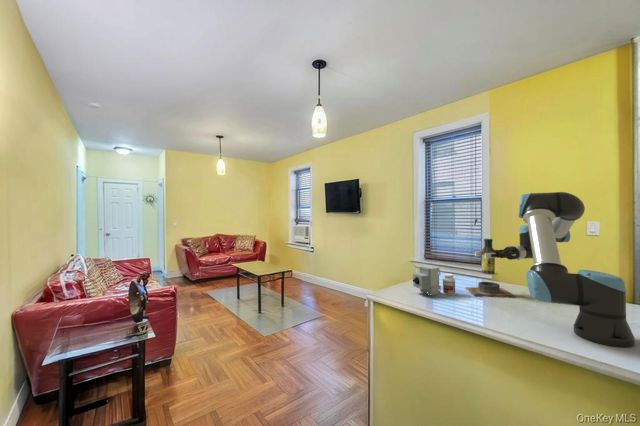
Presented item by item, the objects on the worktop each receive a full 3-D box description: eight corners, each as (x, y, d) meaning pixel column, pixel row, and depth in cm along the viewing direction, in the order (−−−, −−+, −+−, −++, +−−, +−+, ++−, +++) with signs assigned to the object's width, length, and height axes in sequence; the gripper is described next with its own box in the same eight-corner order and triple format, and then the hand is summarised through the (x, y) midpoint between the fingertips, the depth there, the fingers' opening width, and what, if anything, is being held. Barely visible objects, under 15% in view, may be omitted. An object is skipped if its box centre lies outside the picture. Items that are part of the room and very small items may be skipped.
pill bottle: (447, 291, 156) (447, 272, 156) (457, 294, 150) (457, 274, 150) (440, 293, 153) (440, 274, 153) (450, 296, 147) (450, 276, 147)
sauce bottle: (489, 275, 148) (488, 239, 148) (479, 273, 154) (478, 238, 154) (497, 274, 150) (497, 238, 150) (487, 272, 156) (486, 237, 156)
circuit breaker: (411, 293, 154) (410, 267, 155) (431, 290, 159) (431, 265, 159) (419, 296, 147) (419, 269, 147) (440, 294, 152) (440, 267, 152)
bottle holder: (502, 290, 157) (502, 281, 157) (515, 297, 143) (515, 287, 143) (465, 289, 160) (465, 280, 160) (474, 296, 146) (474, 286, 146)
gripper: (530, 261, 146) (494, 264, 141) (500, 256, 165) (467, 258, 160) (530, 248, 146) (494, 250, 141) (499, 244, 165) (467, 246, 160)
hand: (480, 254), depth 151 cm, fingers closed on sauce bottle, 6 cm apart
